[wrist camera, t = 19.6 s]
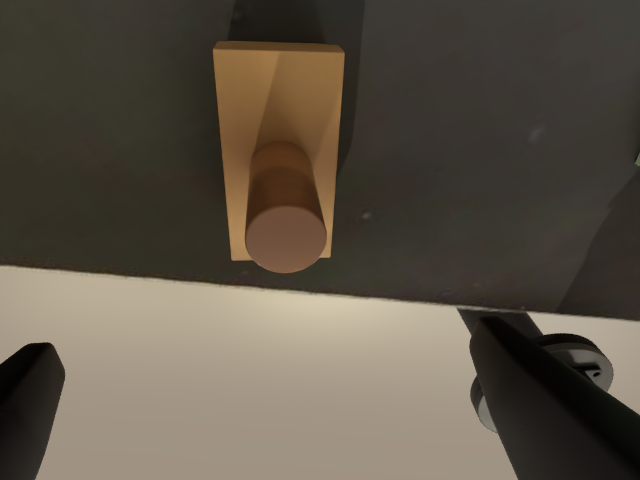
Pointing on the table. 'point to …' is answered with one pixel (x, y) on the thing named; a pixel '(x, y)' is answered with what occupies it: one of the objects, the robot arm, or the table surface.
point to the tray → (638, 160)
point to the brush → (279, 148)
